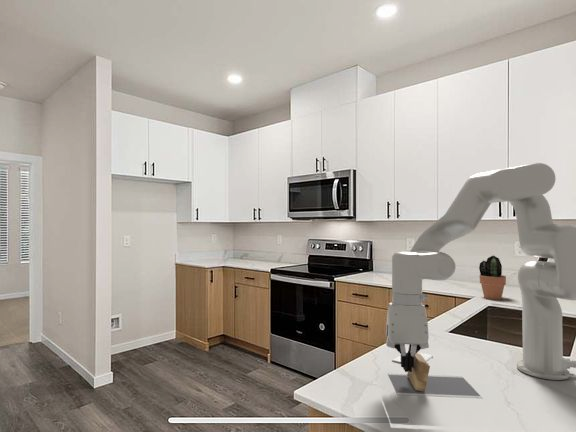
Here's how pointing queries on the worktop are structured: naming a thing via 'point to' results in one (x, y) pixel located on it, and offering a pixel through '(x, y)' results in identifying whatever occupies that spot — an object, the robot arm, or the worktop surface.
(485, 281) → the potted plant
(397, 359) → the external hard drive
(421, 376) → the wooden block
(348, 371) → the worktop surface
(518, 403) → the worktop surface
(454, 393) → the mat
